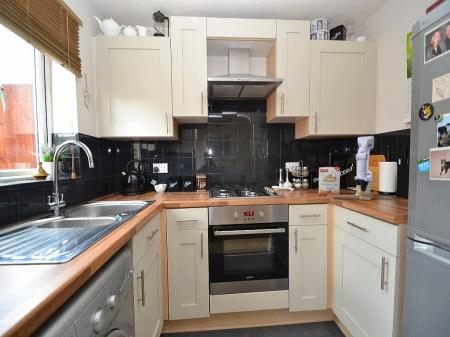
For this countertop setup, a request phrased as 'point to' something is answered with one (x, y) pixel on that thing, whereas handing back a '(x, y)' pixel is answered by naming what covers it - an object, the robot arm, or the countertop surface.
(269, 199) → the countertop surface
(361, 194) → the gauge
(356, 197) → the board
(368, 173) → the robot arm
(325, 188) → the cracker box
